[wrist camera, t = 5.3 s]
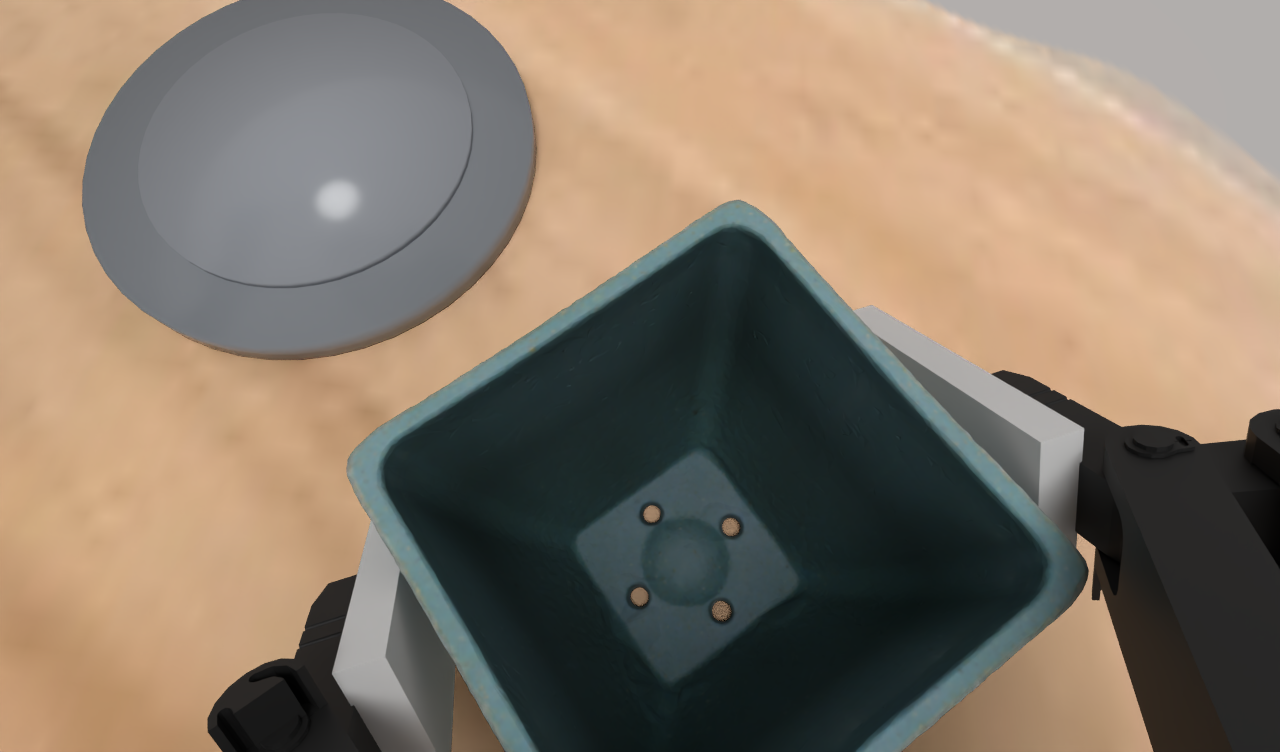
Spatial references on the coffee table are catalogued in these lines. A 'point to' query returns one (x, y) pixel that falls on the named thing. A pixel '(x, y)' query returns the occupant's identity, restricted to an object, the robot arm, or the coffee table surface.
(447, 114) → the saucer
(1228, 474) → the robot arm
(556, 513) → the flower pot
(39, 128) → the coffee table surface
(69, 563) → the coffee table surface
